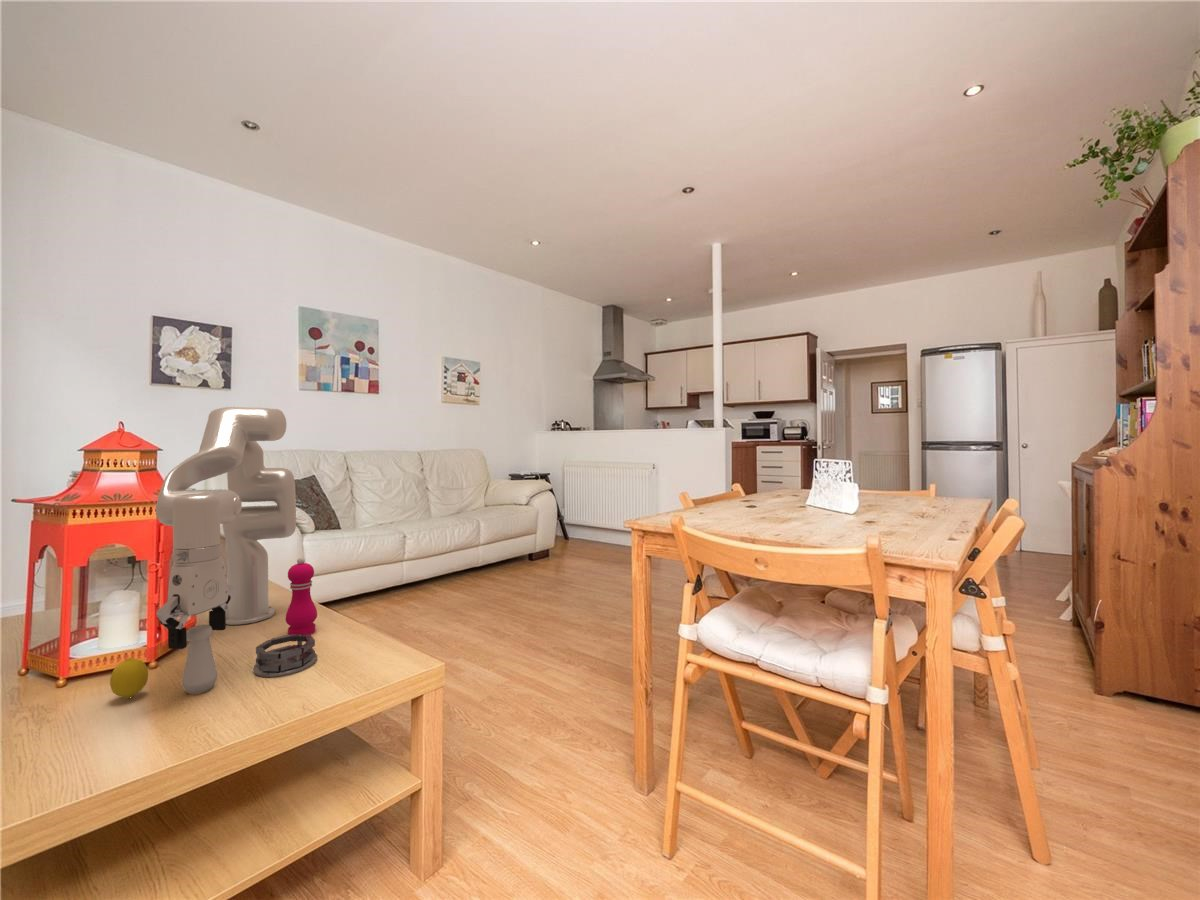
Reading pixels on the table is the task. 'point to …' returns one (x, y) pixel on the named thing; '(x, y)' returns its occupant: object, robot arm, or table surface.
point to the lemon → (129, 677)
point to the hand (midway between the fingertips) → (198, 638)
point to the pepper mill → (301, 599)
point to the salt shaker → (199, 661)
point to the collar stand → (285, 656)
